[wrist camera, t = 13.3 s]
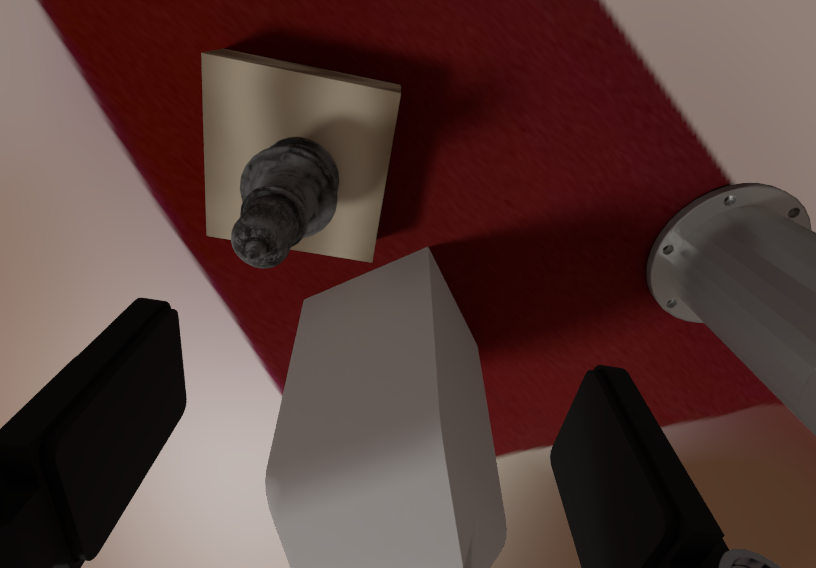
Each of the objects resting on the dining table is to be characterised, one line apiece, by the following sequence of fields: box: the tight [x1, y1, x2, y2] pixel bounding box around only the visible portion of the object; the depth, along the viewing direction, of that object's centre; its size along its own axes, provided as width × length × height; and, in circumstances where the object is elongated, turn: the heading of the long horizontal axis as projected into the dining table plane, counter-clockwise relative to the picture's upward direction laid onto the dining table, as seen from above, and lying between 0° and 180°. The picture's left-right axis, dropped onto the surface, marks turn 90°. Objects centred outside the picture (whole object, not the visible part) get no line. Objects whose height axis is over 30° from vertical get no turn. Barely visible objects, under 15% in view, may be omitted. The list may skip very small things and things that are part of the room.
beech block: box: [201, 49, 401, 262], centre depth 33 cm, size 12×12×4 cm
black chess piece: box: [231, 137, 339, 268], centre depth 26 cm, size 6×6×12 cm
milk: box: [265, 247, 507, 568], centre depth 31 cm, size 12×12×26 cm
